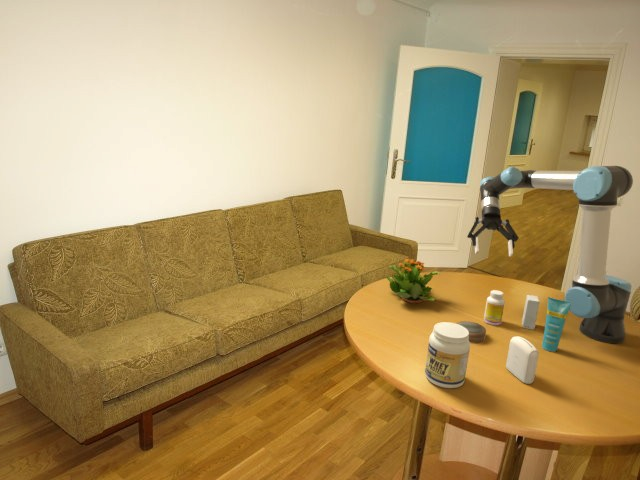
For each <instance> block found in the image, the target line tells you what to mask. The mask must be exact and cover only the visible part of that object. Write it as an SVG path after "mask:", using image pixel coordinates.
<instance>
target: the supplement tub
mask: <svg viewBox="0 0 640 480" xmlns="http://www.w3.org/2000/svg"><path fill="white" fill-rule="evenodd" d="M428 338H429V339H428V346H427V350H426V351H427V352H426V361H425V368H424V374H425V376H426V379H427V380H428V381H429V382H430V383H432V384H433V385H435V386H438V387H441V388H445V389H457V388H459V387H462V385H463V384H464V382H465V380H466V376H467V375H466V374H467V369H468V363H469V356H470V350H471V342H469V340H468V339H469V331H468V330H467V329H466V328H465V327H463V326H461V325H459V324H456V323H455V322H451V321H450V322H448V321H443V322H442V321H441V322H438V323H435V325H434V326H433V329H432V332H431V334H430V335H429V337H428Z"/></svg>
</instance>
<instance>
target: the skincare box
mask: <svg viewBox="0 0 640 480" xmlns="http://www.w3.org/2000/svg"><path fill="white" fill-rule="evenodd" d="M539 305H540V299H539V296H537V295H531V294H527V295H526V298H525V303H524V308H523V312H522V314H523V315H522V319H521V324H522V325H521V326H522V328H523V329H526V330H532V331H533V330H535V327H536V322H537V317H538V312H539V307H540V306H539Z"/></svg>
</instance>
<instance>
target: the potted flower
mask: <svg viewBox="0 0 640 480" xmlns="http://www.w3.org/2000/svg"><path fill="white" fill-rule="evenodd" d="M424 264H425V263H424V262H422V261H420V260H417V261H415V259H413V258H411V259H408V258H407V259H404V263H398V266H397V265H396V264H393V265H391V264H389V266H388V269H391V270H394V271H395V272H396V273H395V274H392V275H391V277H389V276H388V275H386V274H385V275H384V276H385V278H386V280H387V281H389V288H390V290H391V291H392V292H393V293H395V294H396V295H397V296H398V297H400V298H401V299H402V301H404V302H406V301H407V303H409V302H410V304H419V303H422V302H423V301H435V297H433V296H432V295H430V296H428V297H425V296H427V295H428V294H430V292H431V291H432V289H433V288H432V287H431V286H427V284H429V282H431V280H432V279H433V277H434V276H435V275H440V274H441V272H440V271H438V270H435V271H433V272H430V273H428V274H424V275H422V274H421V273H424V271H425V270H426V268H425V265H424ZM402 269H403V270H402Z"/></svg>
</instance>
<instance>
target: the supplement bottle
mask: <svg viewBox="0 0 640 480" xmlns="http://www.w3.org/2000/svg"><path fill="white" fill-rule="evenodd" d="M503 297H504V292H503V291H501V290H496V289H493V290H491V291H490V294H489V296H488V297H487V298H486V303H485V308H484V315H483V321H484V323H486V324H488V325H492V326H499V325H501V324H502V322H503V321H502V320H503V315H504V307H505V302H506V301H505V299H504V298H503Z"/></svg>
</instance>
